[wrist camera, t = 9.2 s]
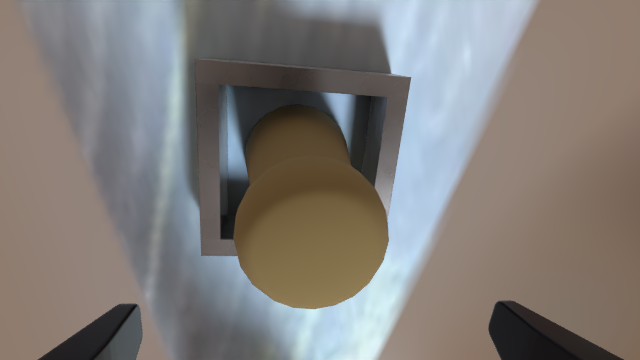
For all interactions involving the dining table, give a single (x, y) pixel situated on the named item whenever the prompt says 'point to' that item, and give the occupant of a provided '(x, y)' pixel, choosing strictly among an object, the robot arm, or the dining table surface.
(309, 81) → the socket frame
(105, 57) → the dining table surface
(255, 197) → the cork
